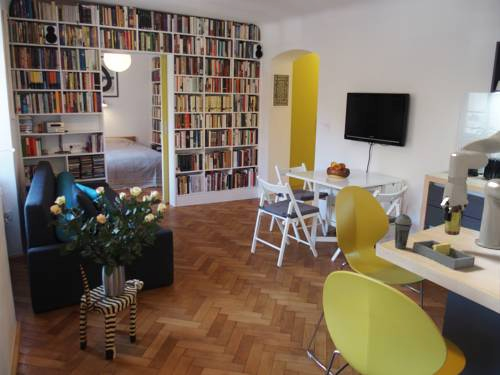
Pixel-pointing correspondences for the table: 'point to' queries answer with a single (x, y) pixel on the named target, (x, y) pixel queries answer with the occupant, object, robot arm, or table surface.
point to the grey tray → (452, 260)
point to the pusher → (442, 248)
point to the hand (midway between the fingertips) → (453, 219)
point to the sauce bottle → (454, 221)
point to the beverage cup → (402, 230)
